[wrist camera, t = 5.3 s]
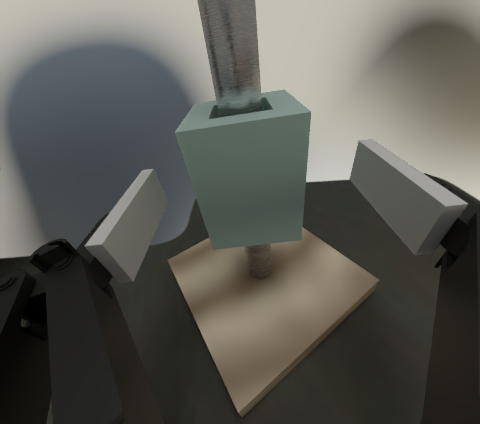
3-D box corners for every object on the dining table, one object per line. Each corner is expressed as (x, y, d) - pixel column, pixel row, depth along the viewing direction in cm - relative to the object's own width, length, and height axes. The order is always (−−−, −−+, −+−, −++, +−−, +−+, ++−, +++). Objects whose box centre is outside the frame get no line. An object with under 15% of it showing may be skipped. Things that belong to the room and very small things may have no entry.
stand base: (173, 270, 24) (167, 260, 23) (270, 215, 30) (269, 204, 28) (242, 417, 14) (238, 412, 13) (373, 291, 19) (379, 280, 18)
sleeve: (213, 249, 14) (174, 132, 9) (218, 199, 19) (195, 103, 14) (301, 240, 14) (310, 111, 9) (284, 191, 18) (284, 89, 13)
